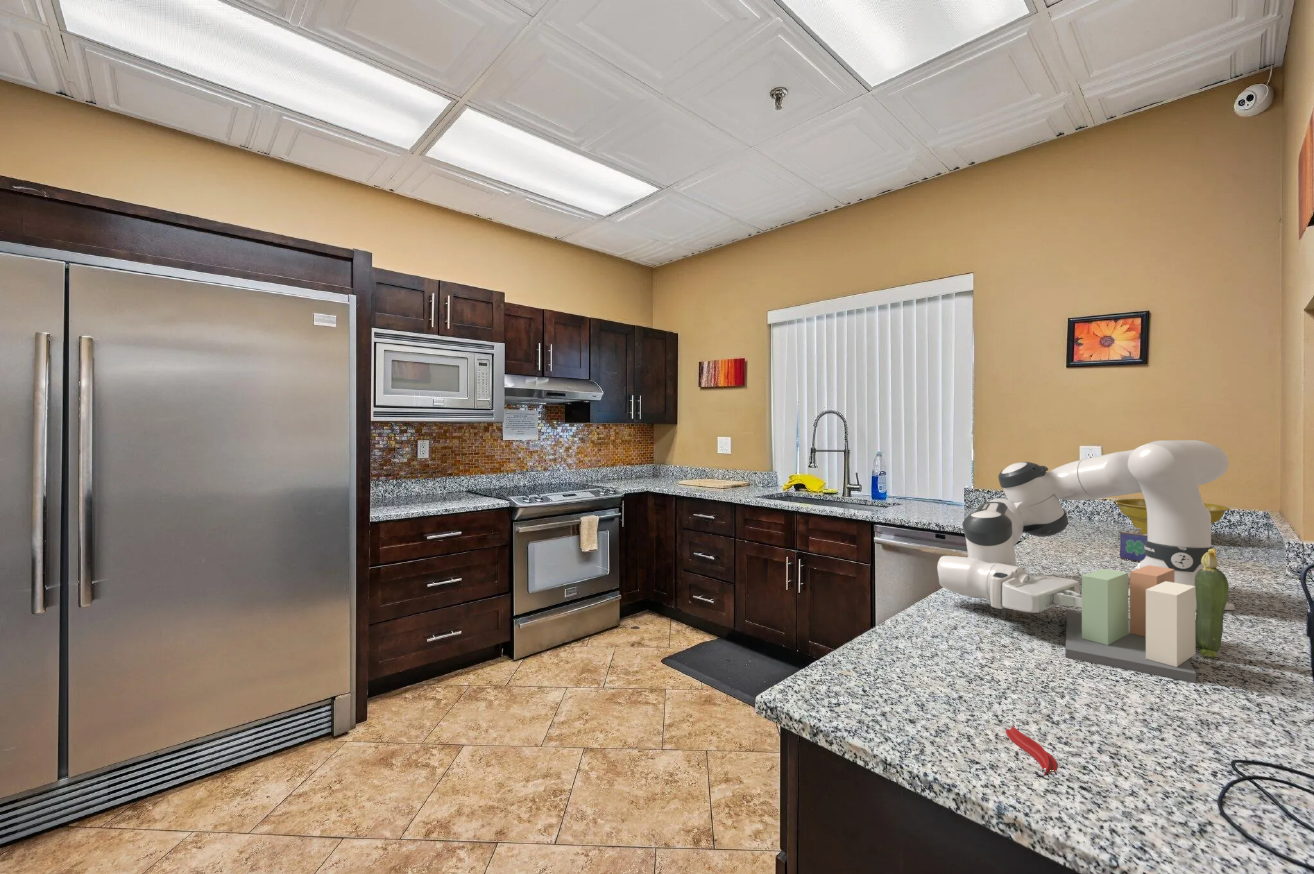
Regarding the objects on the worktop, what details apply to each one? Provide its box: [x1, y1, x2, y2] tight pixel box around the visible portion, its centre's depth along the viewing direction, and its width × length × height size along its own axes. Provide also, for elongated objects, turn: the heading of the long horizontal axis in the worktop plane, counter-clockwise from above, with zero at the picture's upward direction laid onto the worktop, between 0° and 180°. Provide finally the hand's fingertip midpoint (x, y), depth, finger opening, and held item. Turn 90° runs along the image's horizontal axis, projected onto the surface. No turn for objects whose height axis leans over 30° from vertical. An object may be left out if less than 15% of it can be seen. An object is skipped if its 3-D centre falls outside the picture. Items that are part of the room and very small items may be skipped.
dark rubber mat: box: [1064, 609, 1197, 684], centre depth 105 cm, size 28×17×2 cm, turn 142°
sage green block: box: [1081, 568, 1129, 645], centre depth 105 cm, size 4×10×12 cm, turn 122°
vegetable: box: [1195, 547, 1230, 658], centre depth 99 cm, size 4×4×20 cm
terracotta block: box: [1129, 565, 1175, 637], centre depth 107 cm, size 4×10×12 cm, turn 122°
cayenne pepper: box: [1005, 725, 1058, 777], centre depth 70 cm, size 12×5×2 cm, turn 155°
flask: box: [1119, 527, 1147, 563], centre depth 173 cm, size 9×3×11 cm, turn 25°
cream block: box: [1146, 581, 1196, 667], centre depth 95 cm, size 4×10×12 cm, turn 122°
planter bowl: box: [1113, 498, 1230, 534], centre depth 210 cm, size 32×32×13 cm
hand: (1087, 602), depth 107 cm, fingers closed
